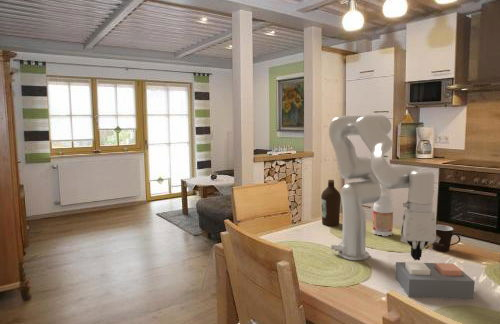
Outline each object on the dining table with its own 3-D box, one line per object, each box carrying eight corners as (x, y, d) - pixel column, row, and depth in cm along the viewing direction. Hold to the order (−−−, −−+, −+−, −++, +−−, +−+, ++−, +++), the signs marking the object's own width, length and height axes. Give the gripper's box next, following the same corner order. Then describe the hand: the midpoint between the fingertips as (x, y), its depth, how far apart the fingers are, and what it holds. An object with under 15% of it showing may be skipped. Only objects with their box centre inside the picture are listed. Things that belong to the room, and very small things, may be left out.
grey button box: (408, 296, 113) (409, 279, 113) (395, 277, 127) (395, 262, 127) (473, 299, 111) (474, 281, 111) (452, 279, 125) (453, 263, 125)
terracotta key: (442, 283, 116) (442, 270, 115) (434, 275, 122) (435, 263, 121) (461, 283, 115) (462, 270, 115) (452, 275, 121) (453, 263, 121)
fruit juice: (381, 237, 171) (383, 181, 168) (368, 232, 179) (370, 178, 176) (396, 235, 174) (398, 180, 171) (383, 230, 183) (384, 177, 180)
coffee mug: (425, 246, 158) (426, 225, 157) (443, 245, 159) (444, 224, 158) (442, 256, 147) (443, 233, 146) (461, 255, 148) (462, 232, 146)
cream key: (411, 282, 117) (411, 269, 116) (404, 274, 123) (405, 262, 122) (429, 282, 116) (430, 269, 116) (422, 275, 122) (423, 262, 122)
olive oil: (336, 220, 201) (337, 178, 198) (343, 226, 190) (343, 181, 187) (318, 221, 200) (319, 178, 197) (324, 227, 189) (324, 181, 186)
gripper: (400, 209, 114) (396, 262, 117) (448, 210, 112) (443, 264, 115) (393, 203, 121) (390, 253, 124) (438, 204, 120) (433, 255, 122)
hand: (415, 258), depth 119 cm, fingers closed
